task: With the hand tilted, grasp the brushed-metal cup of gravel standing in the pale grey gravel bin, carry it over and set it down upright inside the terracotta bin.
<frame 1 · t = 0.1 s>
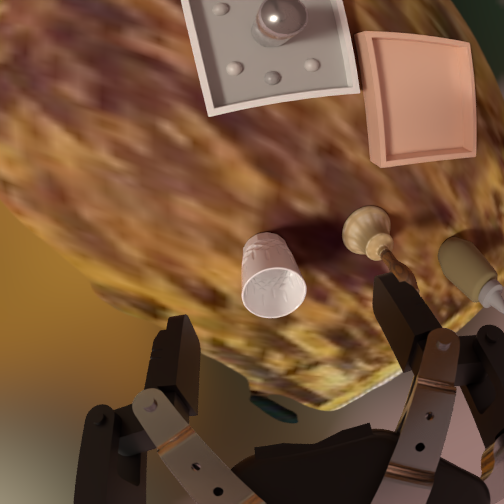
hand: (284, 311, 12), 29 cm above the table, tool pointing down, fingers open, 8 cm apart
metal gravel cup: (270, 31, 28), point 2 cm above the table, touching gravel bin
white cup: (265, 251, 45), on the table
terracotta bin: (418, 95, 34), on the table
squeeze bottle: (448, 249, 48), on the table
gravel bin: (268, 33, 29), on the table
hand bell: (366, 229, 45), on the table
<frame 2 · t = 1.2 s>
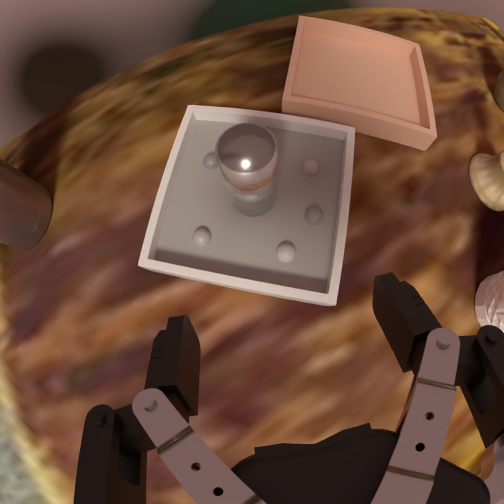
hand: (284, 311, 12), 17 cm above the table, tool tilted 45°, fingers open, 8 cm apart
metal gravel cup: (253, 195, 29), point 2 cm above the table, touching gravel bin
white cup: (491, 303, 27), on the table
terracotta bin: (358, 81, 34), on the table
gravel bin: (254, 201, 31), on the table
hand bell: (490, 182, 30), on the table
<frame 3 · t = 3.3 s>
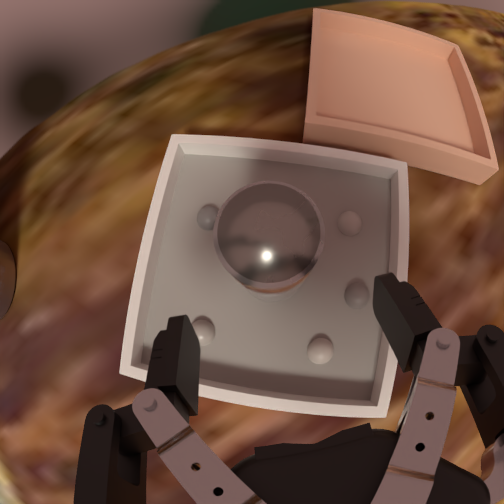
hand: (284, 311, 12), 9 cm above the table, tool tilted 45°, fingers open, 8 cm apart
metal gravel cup: (272, 269, 21), point 2 cm above the table, touching gravel bin
terracotta bin: (394, 91, 25), on the table
gravel bin: (272, 273, 22), on the table
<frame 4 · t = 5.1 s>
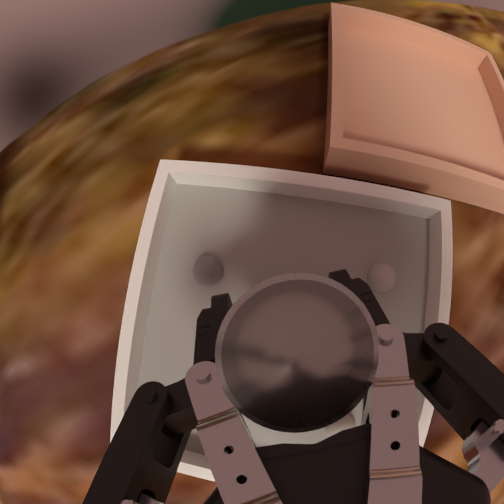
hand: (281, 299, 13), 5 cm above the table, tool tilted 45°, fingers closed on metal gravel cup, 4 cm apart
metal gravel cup: (287, 337, 16), point 2 cm above the table, touching gravel bin, gripper
terracotta bin: (425, 105, 21), on the table
gravel bin: (286, 335, 18), on the table
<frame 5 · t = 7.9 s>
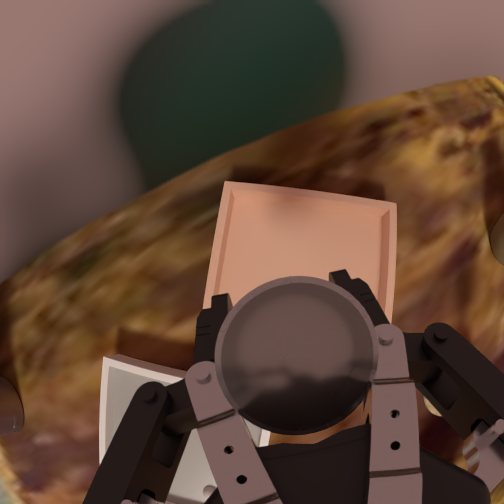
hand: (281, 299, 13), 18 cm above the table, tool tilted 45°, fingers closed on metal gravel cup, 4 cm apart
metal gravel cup: (287, 338, 16), point 15 cm above the table, touching gripper
terracotta bin: (301, 284, 31), on the table
squeeze bottle: (502, 244, 30), on the table
gravel bin: (183, 444, 28), on the table
when the fingers open (6 cm above the table, at t = 11.0 s): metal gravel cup drops 1 cm, resting on terracotta bin.
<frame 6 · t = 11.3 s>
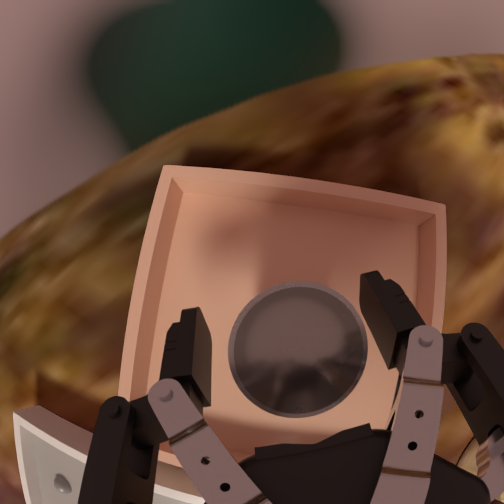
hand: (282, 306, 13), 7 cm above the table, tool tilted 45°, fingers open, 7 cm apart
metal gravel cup: (288, 338, 18), point 1 cm above the table, touching terracotta bin
terracotta bin: (285, 335, 19), on the table
hand bell: (487, 459, 15), on the table
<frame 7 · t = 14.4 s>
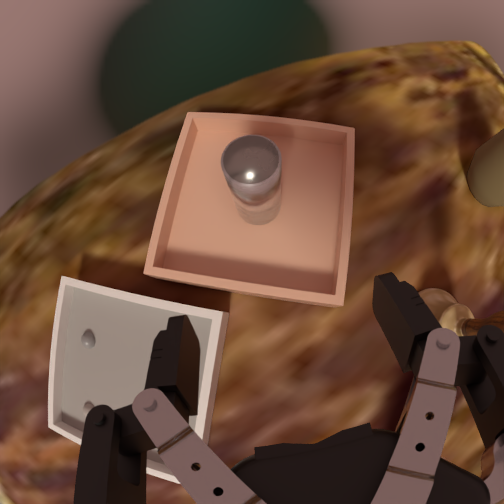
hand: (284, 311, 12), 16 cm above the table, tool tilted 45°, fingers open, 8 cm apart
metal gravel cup: (258, 204, 30), point 1 cm above the table, touching terracotta bin
terracotta bin: (257, 206, 31), on the table
squeeze bottle: (482, 186, 30), on the table
gravel bin: (132, 378, 28), on the table
hand bell: (431, 327, 27), on the table
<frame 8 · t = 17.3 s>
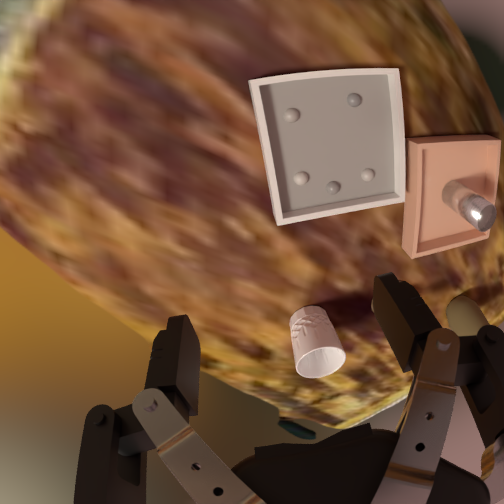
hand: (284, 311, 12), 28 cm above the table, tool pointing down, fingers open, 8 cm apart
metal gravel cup: (451, 192, 40), point 1 cm above the table, touching terracotta bin
white cup: (308, 318, 52), on the table
terracotta bin: (448, 189, 40), on the table
squeeze bottle: (455, 304, 55), on the table
gravel bin: (331, 138, 36), on the table
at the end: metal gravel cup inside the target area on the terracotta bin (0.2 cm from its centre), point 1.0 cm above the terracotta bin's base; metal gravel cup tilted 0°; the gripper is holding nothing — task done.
